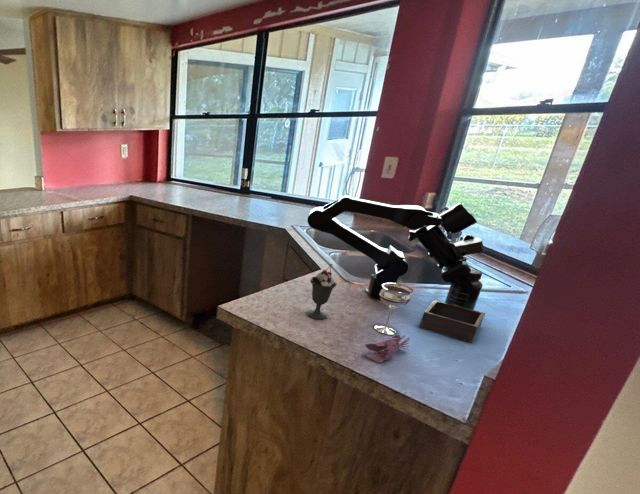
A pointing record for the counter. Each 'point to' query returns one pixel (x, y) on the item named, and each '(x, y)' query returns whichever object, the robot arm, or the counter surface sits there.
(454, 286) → the supplement bottle
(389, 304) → the wineglass
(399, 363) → the counter surface
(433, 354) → the counter surface
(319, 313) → the sundae
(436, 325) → the caddy
